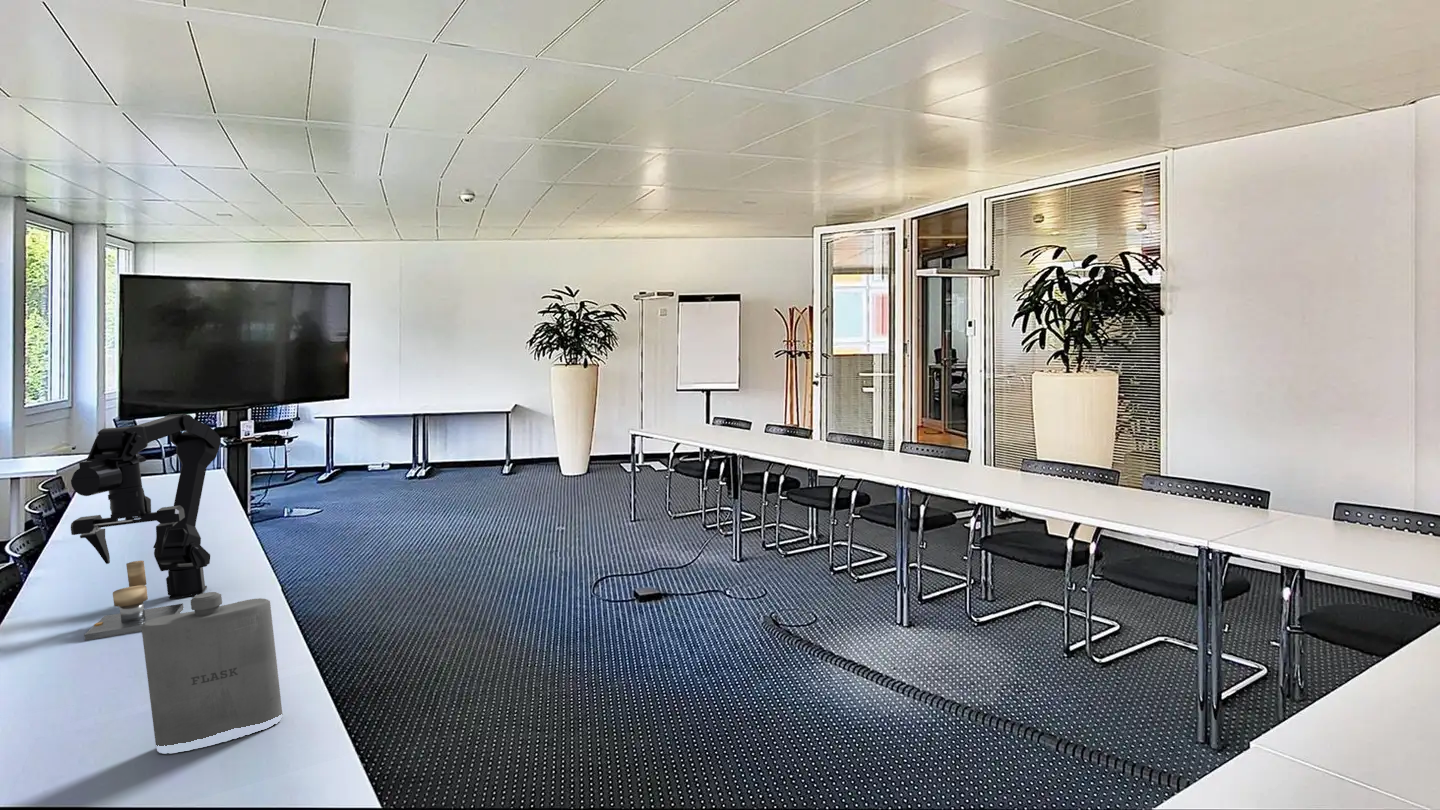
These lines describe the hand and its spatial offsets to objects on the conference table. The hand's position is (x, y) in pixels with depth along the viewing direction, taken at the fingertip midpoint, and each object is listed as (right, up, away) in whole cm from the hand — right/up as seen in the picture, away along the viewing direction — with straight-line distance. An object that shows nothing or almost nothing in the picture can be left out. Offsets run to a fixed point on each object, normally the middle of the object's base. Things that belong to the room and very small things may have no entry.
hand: (134, 559), depth 171 cm
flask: (+55, -13, -59) cm, 81 cm away
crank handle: (+2, -8, -3) cm, 8 cm away
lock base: (+3, -12, -5) cm, 14 cm away
